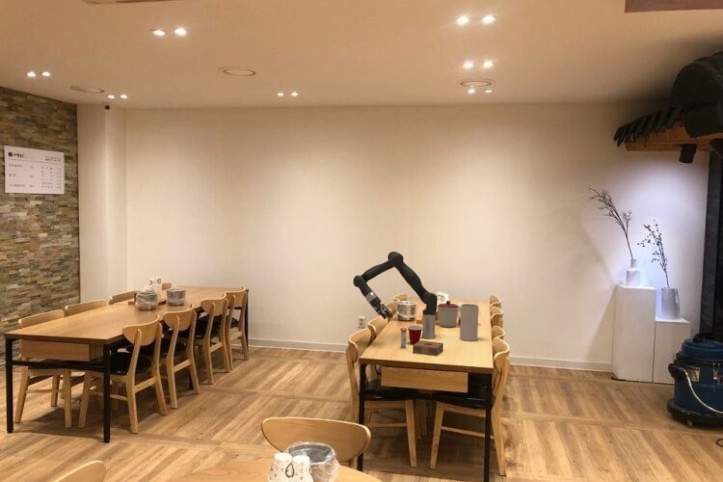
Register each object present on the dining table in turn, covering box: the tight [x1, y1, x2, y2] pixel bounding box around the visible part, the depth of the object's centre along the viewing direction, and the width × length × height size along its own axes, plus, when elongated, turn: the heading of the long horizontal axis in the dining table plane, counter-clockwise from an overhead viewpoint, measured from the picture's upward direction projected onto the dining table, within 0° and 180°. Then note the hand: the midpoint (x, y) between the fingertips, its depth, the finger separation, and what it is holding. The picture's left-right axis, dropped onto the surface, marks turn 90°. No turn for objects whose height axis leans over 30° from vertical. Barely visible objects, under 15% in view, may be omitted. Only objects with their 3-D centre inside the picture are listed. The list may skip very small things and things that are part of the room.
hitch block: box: [412, 340, 444, 357], centre depth 378 cm, size 16×16×5 cm
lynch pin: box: [399, 327, 408, 349], centre depth 387 cm, size 4×4×13 cm
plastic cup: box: [407, 324, 423, 345], centre depth 400 cm, size 11×11×12 cm
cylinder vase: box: [459, 303, 479, 342], centre depth 417 cm, size 12×12×25 cm
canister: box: [437, 300, 460, 328], centre depth 464 cm, size 18×18×21 cm
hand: (388, 317), depth 391 cm, fingers open, 8 cm apart
